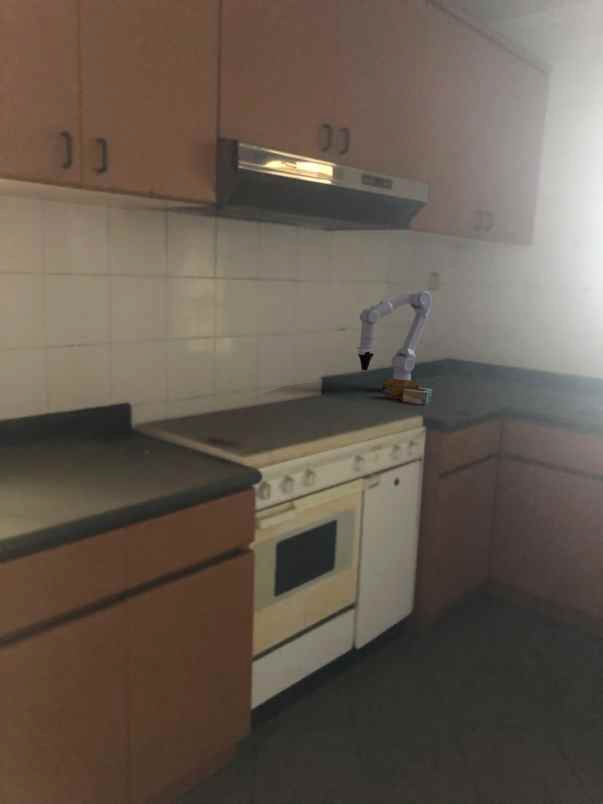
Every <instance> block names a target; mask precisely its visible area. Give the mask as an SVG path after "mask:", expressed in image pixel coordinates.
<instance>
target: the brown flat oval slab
mask: <svg viewBox="0 0 603 804" xmlns="http://www.w3.org/2000/svg"><path fill="white" fill-rule="evenodd" d="M381 389H382V394H383V395H384V397H386V398H387V399H389V398H393V399H392V400H397V399H400V400H399V401H403V393H404V389H409V390H417V391H419V385H418V383H417V382H415V381H414V380H402V379H393V378H388V379H387V380H385V381H384V383H383V384H382V388H381Z"/></svg>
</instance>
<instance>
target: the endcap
mask: <svg viewBox="0 0 603 804" xmlns="http://www.w3.org/2000/svg"><path fill="white" fill-rule="evenodd" d="M432 394H433V389H432V388H425V387H419V391H417V390H409V389H404V393H403V400H402V403H407V402H408V404H413V405H414V404H415V405H416V404H417V405H422V406H427V405H428V404H430V403H431V402H432Z"/></svg>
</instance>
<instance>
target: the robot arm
mask: <svg viewBox="0 0 603 804" xmlns="http://www.w3.org/2000/svg"><path fill="white" fill-rule="evenodd" d="M432 301H433V298H432V295H431V293H430V292H428V291H427V290H417V289H411V290H409V291H406V292H404V293H402V294H401V295H399V296H398V297H396V298H394V299H392V300H390V301H386V300H385V301H384V300H380V302H379V303H378V304H376V305H372V306H370V308H364V309H363V310H362V311H361V313H360V314H359V319H360V321H361V324H360V325H361V329H360V339H359V340H360V341H359V346H358V347H357V346H356V350H358V353H357V355H358V358H359V360H360V367H361V370H362V371H368V370H369V367H370V366H369V365H370V362H371V360H372V358H373V357H374V353H372V352H374V347H375V346H374V344H375V334H376V326H377V323H378V322H379V320H380V319H382V318H384V317H386V316H389V315H390V314H392V313H393V310H394V309H397V308H399V307H401V306H404V305H406V304H409V305H410V307H412V309H413V310H414V313H415V316H414V318H413V321H412V323H411V325H410V328H409V330H408V333H407V335H406V338H405V339H404V343H403V345H402V347H400V348H399V349H398V350H396V351H397V352H396V353H395V355H393V357H392V358H391V365H392V367H393V374H392V375H393V376H392V379H402V380H411V379H412V375H411V373H412V371H413V370H414V368H415V364H416V359H417V355H416V353H415V350H416V349H417V346H418V343H419V341H420V339H421V336H422V334H423V332H424V329H425V327H426V324H427V322H428V319H429V317H430V313H431V304H432ZM411 381H412V380H411Z"/></svg>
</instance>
